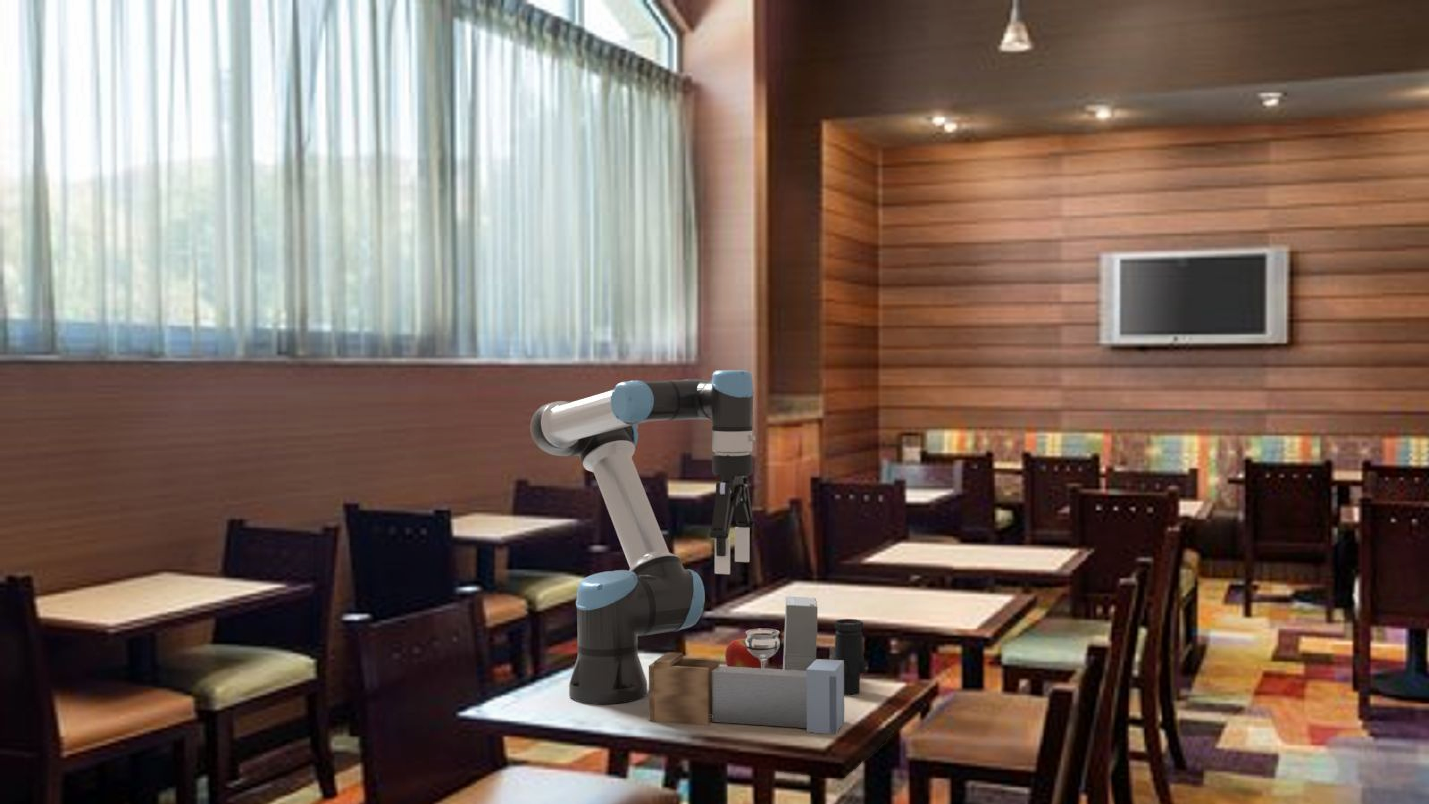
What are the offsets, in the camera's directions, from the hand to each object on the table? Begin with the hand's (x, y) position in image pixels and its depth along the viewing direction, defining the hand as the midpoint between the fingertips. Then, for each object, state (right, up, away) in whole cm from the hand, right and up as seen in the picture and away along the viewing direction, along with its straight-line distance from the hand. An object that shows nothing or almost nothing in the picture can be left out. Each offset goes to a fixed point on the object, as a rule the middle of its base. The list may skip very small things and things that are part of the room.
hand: (732, 567), depth 245 cm
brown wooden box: (-8, -26, -6) cm, 28 cm away
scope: (+22, -26, +11) cm, 36 cm away
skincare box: (+14, -26, +24) cm, 38 cm away
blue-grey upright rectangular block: (+16, -26, -13) cm, 34 cm away
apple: (+3, -26, +21) cm, 33 cm away
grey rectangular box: (+7, -26, -10) cm, 29 cm away
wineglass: (+6, -26, +11) cm, 29 cm away
